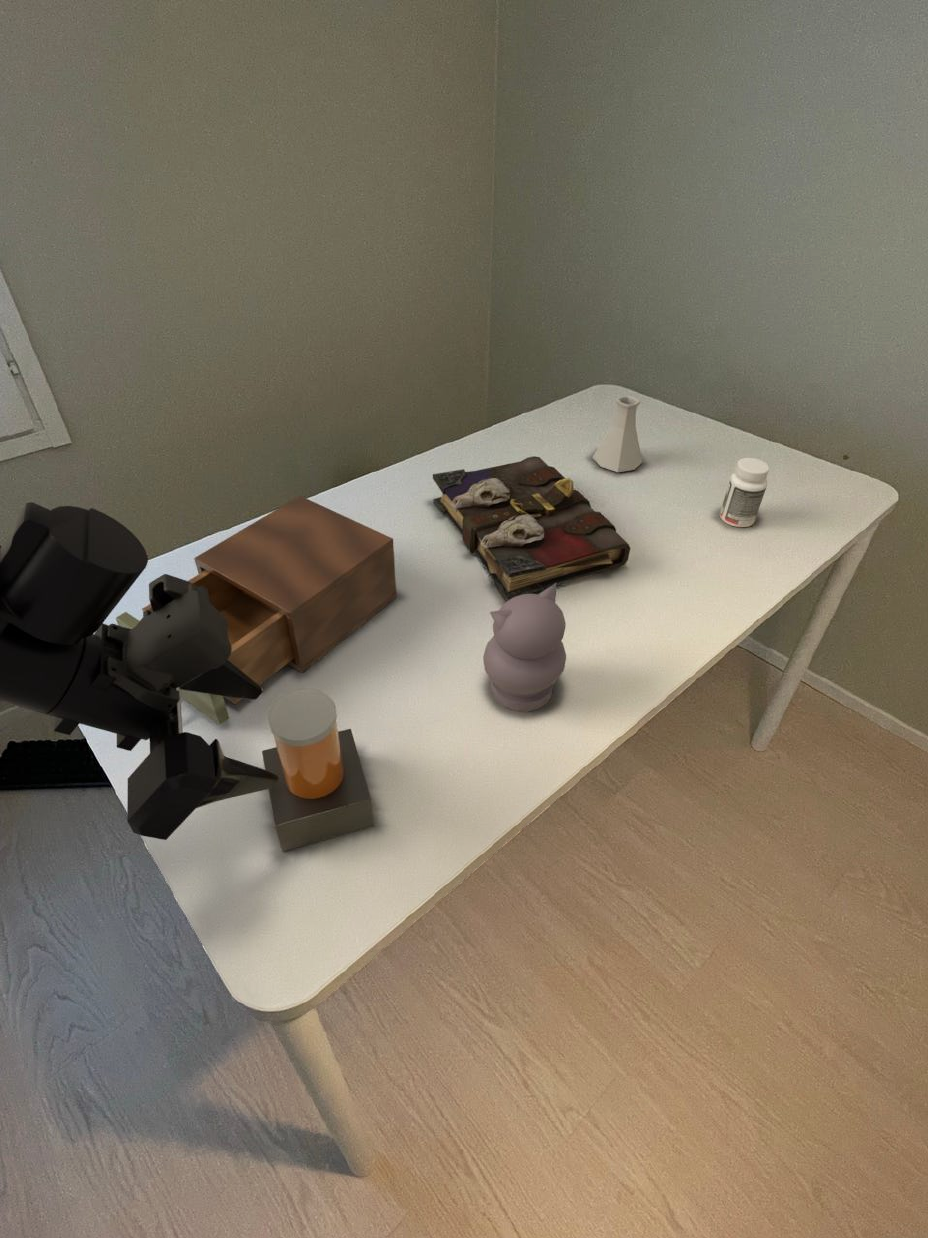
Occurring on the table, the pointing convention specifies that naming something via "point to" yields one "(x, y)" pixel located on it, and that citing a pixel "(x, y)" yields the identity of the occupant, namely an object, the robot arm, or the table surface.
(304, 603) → the cabinet
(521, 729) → the table surface
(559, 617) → the cat figurine
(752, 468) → the pill bottle
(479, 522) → the book
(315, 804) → the stand
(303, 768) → the amber jar
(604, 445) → the flask
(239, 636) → the drawer
